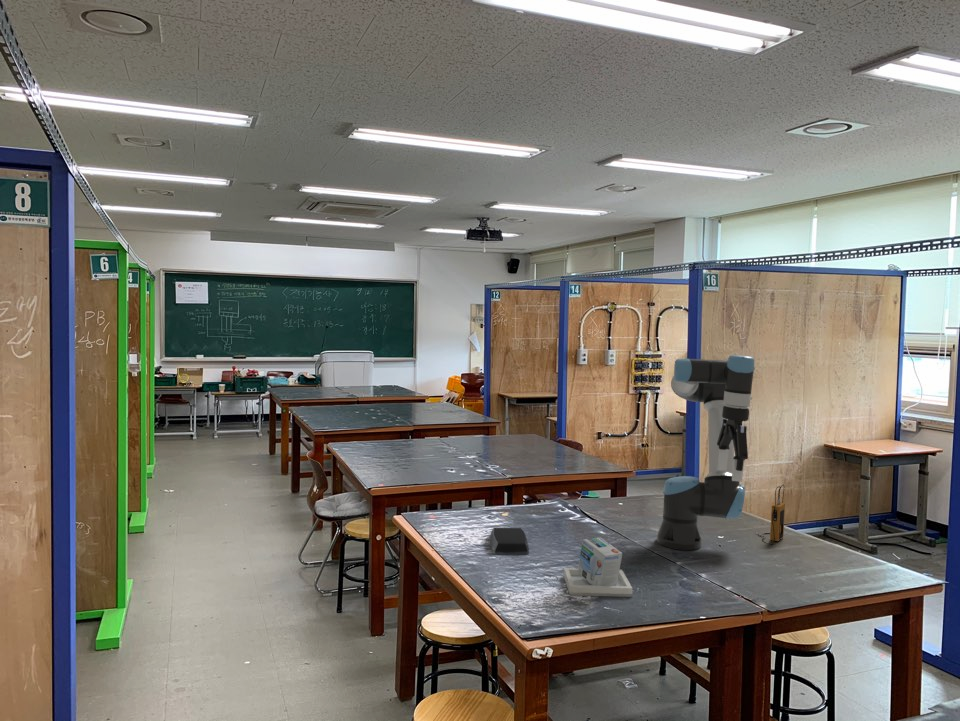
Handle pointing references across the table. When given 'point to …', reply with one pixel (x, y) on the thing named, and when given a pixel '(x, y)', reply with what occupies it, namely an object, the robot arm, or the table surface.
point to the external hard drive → (508, 541)
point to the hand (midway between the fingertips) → (729, 475)
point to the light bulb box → (599, 562)
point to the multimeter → (777, 519)
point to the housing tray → (584, 588)
